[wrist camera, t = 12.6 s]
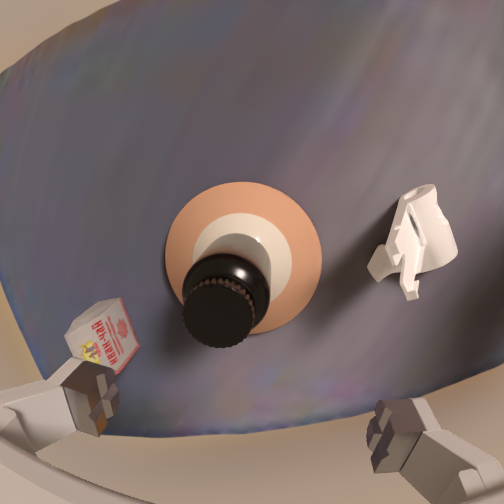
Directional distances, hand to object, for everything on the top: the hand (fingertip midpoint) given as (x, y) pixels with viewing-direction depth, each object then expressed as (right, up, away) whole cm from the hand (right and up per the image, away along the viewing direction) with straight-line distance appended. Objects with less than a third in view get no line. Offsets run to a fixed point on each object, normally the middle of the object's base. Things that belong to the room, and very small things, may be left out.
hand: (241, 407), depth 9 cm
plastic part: (+17, +7, +23) cm, 29 cm away
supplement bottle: (-1, +3, +24) cm, 24 cm away
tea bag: (-16, -4, +28) cm, 33 cm away
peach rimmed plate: (-1, +4, +25) cm, 25 cm away
